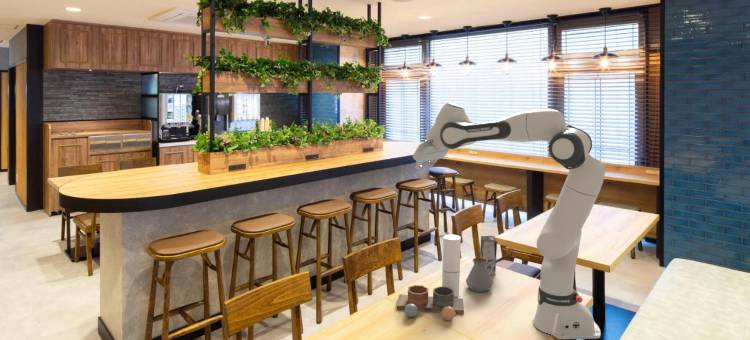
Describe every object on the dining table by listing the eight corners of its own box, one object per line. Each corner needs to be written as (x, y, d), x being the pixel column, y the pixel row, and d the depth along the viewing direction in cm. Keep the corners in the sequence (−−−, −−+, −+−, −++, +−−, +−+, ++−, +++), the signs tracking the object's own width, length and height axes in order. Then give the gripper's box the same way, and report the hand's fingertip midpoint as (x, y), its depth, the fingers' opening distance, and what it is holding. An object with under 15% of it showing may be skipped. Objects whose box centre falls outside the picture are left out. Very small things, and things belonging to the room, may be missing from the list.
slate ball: (417, 313, 173) (418, 301, 172) (417, 320, 168) (417, 307, 167) (405, 312, 174) (405, 300, 173) (403, 319, 169) (403, 306, 168)
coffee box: (495, 275, 209) (497, 241, 207) (481, 274, 210) (483, 241, 207) (492, 267, 218) (494, 235, 215) (479, 267, 219) (480, 235, 216)
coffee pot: (472, 295, 189) (473, 261, 186) (461, 284, 200) (462, 251, 197) (518, 290, 193) (520, 257, 190) (505, 280, 204) (507, 248, 201)
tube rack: (463, 302, 182) (463, 287, 181) (463, 314, 173) (464, 298, 172) (399, 297, 186) (399, 283, 185) (396, 309, 177) (396, 293, 176)
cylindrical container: (458, 290, 193) (460, 234, 189) (459, 297, 186) (461, 240, 182) (441, 289, 194) (442, 234, 190) (442, 297, 187) (443, 239, 183)
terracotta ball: (454, 316, 171) (455, 304, 170) (455, 323, 166) (455, 310, 165) (441, 315, 172) (441, 303, 171) (441, 322, 167) (441, 309, 166)
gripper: (429, 145, 172) (415, 174, 178) (456, 141, 188) (441, 168, 194) (417, 136, 175) (403, 165, 181) (444, 133, 191) (430, 160, 197)
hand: (423, 167), depth 188 cm, fingers open, 8 cm apart
